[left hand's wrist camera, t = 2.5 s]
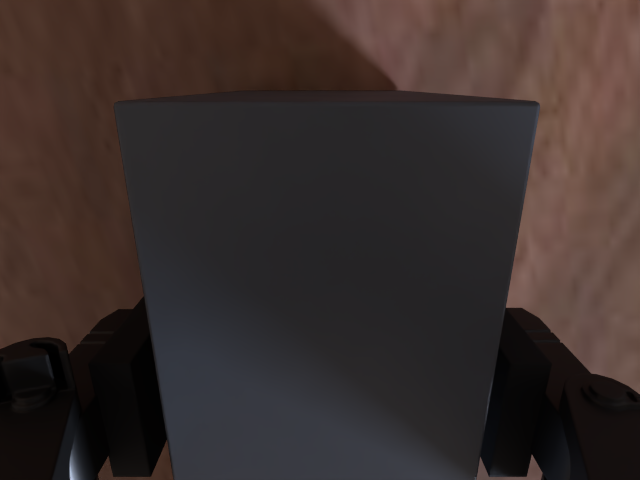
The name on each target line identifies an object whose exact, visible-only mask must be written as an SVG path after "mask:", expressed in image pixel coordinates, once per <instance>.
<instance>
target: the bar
mask: <svg viewBox="0 0 640 480" xmlns="http://www.w3.org/2000/svg"><path fill="white" fill-rule="evenodd" d="M539 110H540V105H539V103H538V102H536V101H526V100H514V99H501V98H488V97H475V96H463V95H450V94H437V93H424V92H412V91H234V92H222V93H210V94H198V95H186V96H174V97H163V98H151V99H139V100H127V101H118V102H116V103H114V112H115V118H116V124H117V131H118V137H119V143H120V149H121V155H122V162H123V168H124V174H125V180H126V187H127V193H128V199H129V205H130V212H131V218H132V224H133V230H134V236H135V243H136V249H137V255H138V261H139V268H140V274H141V280H142V286H143V292H144V299H145V305H146V311H147V317H148V324H149V330H150V336H151V342H152V349H153V355H154V361H155V367H156V373H157V380H158V386H159V392H160V398H161V405H162V411H163V417H164V423H165V429H166V436H167V442H168V448H169V454H170V461H171V467H172V473H173V479H174V480H476V478H477V472H478V466H479V460H480V454H481V448H482V443H483V437H484V431H485V425H486V419H487V413H488V407H489V402H490V396H491V390H492V384H493V378H494V372H495V367H496V361H497V355H498V349H499V343H500V337H501V332H502V326H503V320H504V314H505V308H506V302H507V296H508V291H509V285H510V279H511V273H512V267H513V261H514V256H515V250H516V244H517V238H518V232H519V226H520V221H521V215H522V209H523V203H524V197H525V191H526V186H527V180H528V174H529V168H530V162H531V156H532V150H533V145H534V139H535V133H536V127H537V121H538V115H539Z"/></svg>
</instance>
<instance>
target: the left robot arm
mask: <svg viewBox="0 0 640 480" xmlns="http://www.w3.org/2000/svg"><path fill="white" fill-rule="evenodd" d="M166 440H167V436H166V429H165V423H164V417H163V411H162V405H161V398H160V392H159V386H158V380H157V373H156V367H155V361H154V355H153V349H152V342H151V336H150V330H149V324H148V317H147V311H146V305H145V299H144V297H143V298H142V299H141V300H140V301H139V303H138V304H137V305H136V306H135V308H134V309H118V310H117V311H115V312H113V313H112V314H110V315H108V316H106V317H105V318H103V319H101V320H100V321H99V322H98V324H97V325H96V326H95V327H94V328H93V329H92V330H91V331H90V334H87V335H86V336H85V337H84V339H83V340H82V341H81V343H80V344H78V345H77V346H76V347H75V348H74V349H73V350H72V351H71V353H70V354H68V350H67V346H66V343H64V342H63V341H61V340H60V339H56V338H50V337H45V338H33V339H29V340H25V341H21V342H17V343H14V344H12V345H9V346H7V347H5V348H2V349H0V480H99V478H98V473H99V471H100V469H101V468H102V466H103V464H104V462H105V461H106V459H107V457H108V455H109V460H110V464H111V468H112V473H113V477H151V475H152V473H153V470H154V468H155V466H156V463H157V461H158V459H159V457H160V454H161V452H162V450H163V447H164V445H165V443H166ZM531 455H533V457H534V458H535V460H536V462H537V464H538V465H539V467H540V469H541V471H542V472H543V474H542V478H541V480H640V394H638V393H637V392H636V391H634V390H633V389H631V388H630V387H629V386H627V385H625V384H623V383H620V382H618V381H616V380H614V379H612V378H608V377H604V376H601V375H597V374H591V373H590V372H589V371H588V370H587V369H586V368H585V367H584V365H583V364H582V363H581V362H580V361H579V360H578V359H577V358H576V357H575V356H574V355H573V354H572V353H571V352H570V351H569V349H568V348H567V347H566V346H565V345H564V344H563V343H560V340H559V339H558V338H557V337H556V336H555V335H554V333H551V332H550V329H549V328H548V327H547V326H546V325H545V324H544V323H543V322H542V321H541V320H540V319H539V318H538V317H536V316H535V315H533V314H531V313H529V312H528V311H526V310H524V309H523V308H505V314H504V320H503V326H502V332H501V337H500V343H499V349H498V355H497V361H496V367H495V372H494V378H493V384H492V390H491V396H490V402H489V407H488V413H487V419H486V425H485V431H484V437H483V443H482V448H481V454H480V457H481V459H482V461H483V463H484V466H485V468H486V470H487V473H488V475H489V477H527V473H528V468H529V464H530V460H531Z"/></svg>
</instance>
